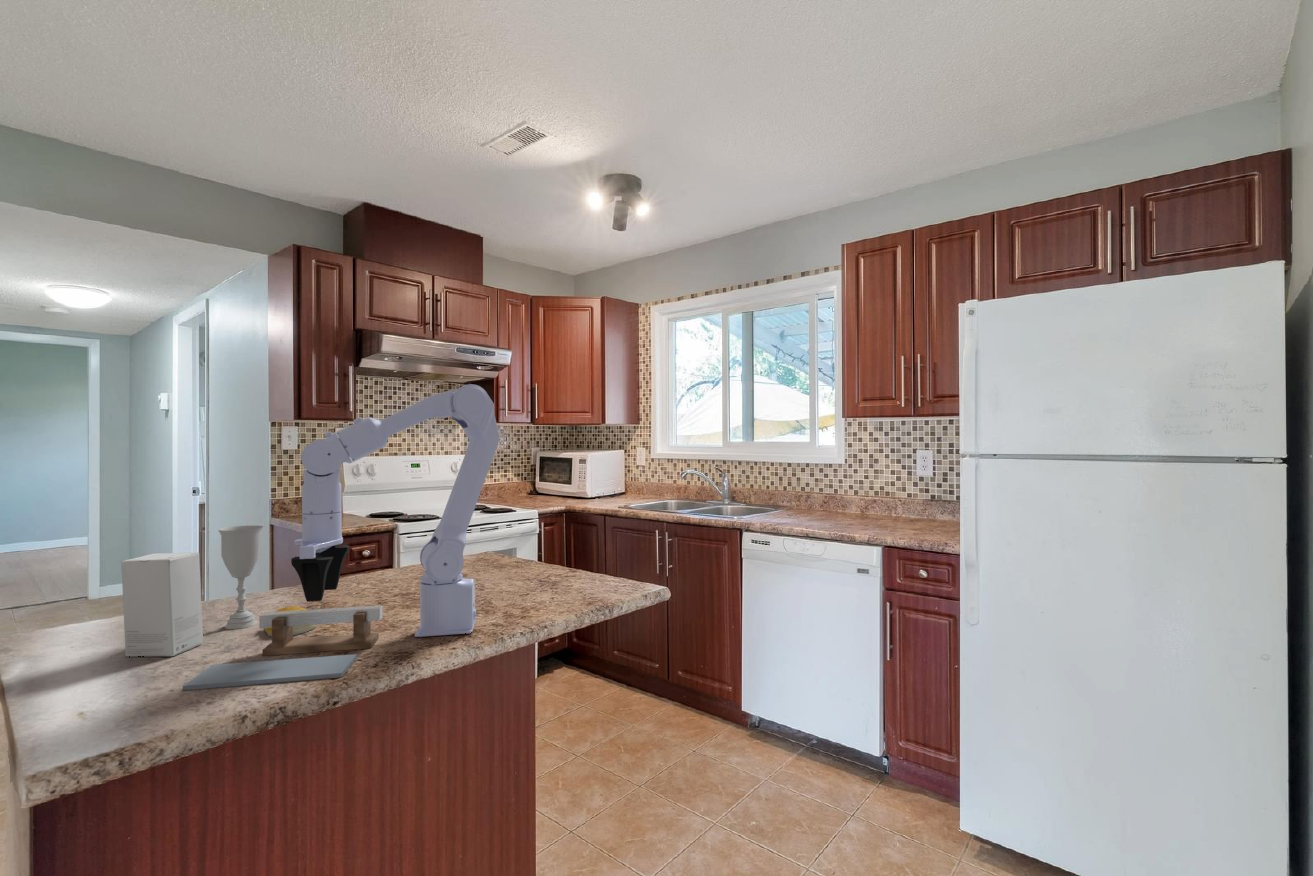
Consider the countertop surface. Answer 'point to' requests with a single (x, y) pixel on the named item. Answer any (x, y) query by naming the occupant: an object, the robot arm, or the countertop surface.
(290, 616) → the steel rail
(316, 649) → the cradle rack
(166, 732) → the countertop surface
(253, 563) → the chalice
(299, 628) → the bread roll
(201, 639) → the skincare box
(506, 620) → the countertop surface
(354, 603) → the countertop surface
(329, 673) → the slate mat
